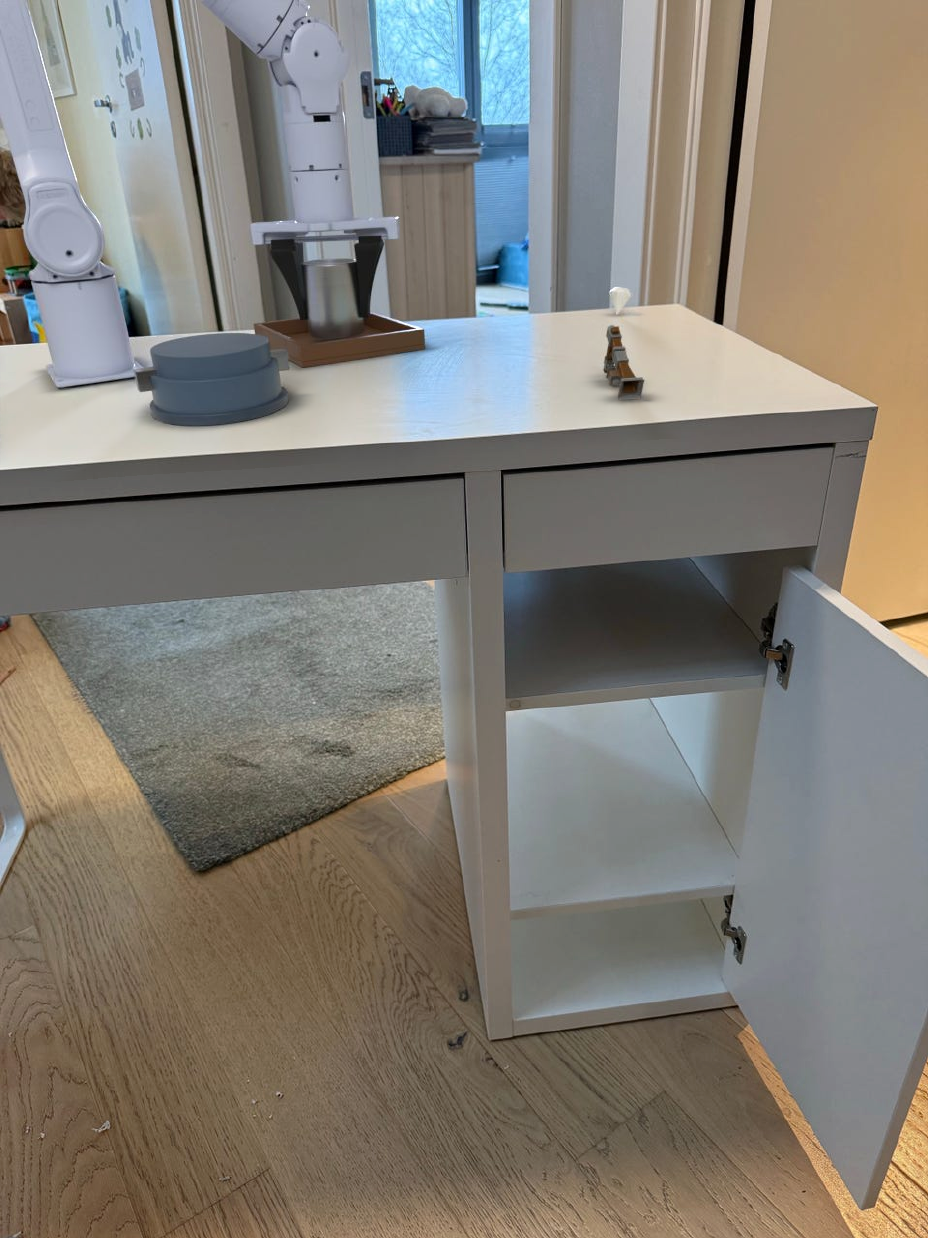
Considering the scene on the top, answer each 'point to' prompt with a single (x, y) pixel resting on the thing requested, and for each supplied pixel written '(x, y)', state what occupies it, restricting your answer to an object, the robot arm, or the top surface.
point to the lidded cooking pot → (214, 379)
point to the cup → (332, 298)
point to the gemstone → (620, 297)
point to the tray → (341, 340)
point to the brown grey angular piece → (620, 367)
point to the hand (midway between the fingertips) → (335, 317)
